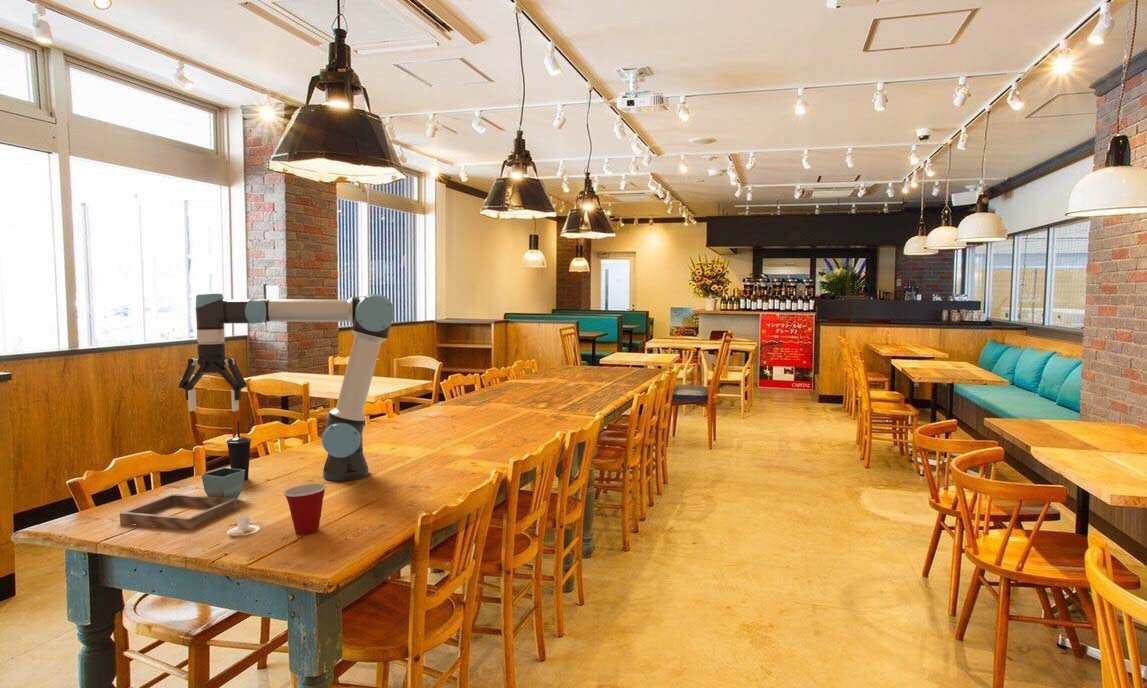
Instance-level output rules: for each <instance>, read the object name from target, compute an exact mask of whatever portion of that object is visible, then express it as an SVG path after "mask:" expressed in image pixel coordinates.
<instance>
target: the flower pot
mask: <svg viewBox="0 0 1147 688" xmlns="http://www.w3.org/2000/svg"><path fill="white" fill-rule="evenodd" d="M244 476H245V470H241V469H232V468H231V467H223V468H219V469H216V470H212V471H208V472H205V473H202V474H201V480H202V485H203V490H204V493H205V494H206V496H208V497H221V498H233V499H237V500H238V498H239V497H240V495H241V493H242V491H243V489H244V483H245V481H244Z"/></svg>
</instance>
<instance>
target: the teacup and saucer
mask: <svg viewBox="0 0 1147 688" xmlns="http://www.w3.org/2000/svg"><path fill="white" fill-rule="evenodd" d="M251 520H252V519H251V516H250V515H248V514H247V515H239V516H237V517H236V526H235V527H232V528H230V529H229V530H227V532H226V534H227V535H228V536H232V537H233V536H234V537H240V536H249V535H252V534H254V533H256V532H258V531H260V530H261V527H260V526H258V525H255V524H250V523H251ZM249 528H253V529H254V530H253V531H251V532H248V530H249ZM245 532H248V533H245Z"/></svg>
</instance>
